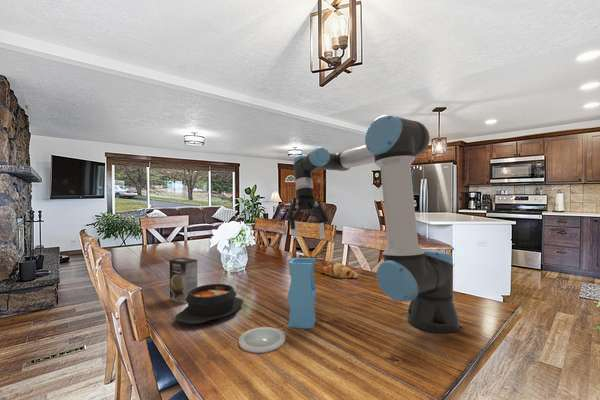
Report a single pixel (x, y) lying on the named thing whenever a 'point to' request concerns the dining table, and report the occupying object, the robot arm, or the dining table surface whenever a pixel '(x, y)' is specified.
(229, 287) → the casserole
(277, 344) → the plate
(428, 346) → the dining table surface
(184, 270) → the coffee box
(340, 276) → the croissant
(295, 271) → the vase
